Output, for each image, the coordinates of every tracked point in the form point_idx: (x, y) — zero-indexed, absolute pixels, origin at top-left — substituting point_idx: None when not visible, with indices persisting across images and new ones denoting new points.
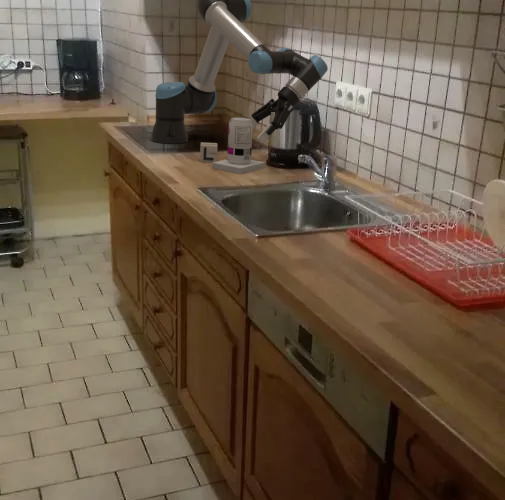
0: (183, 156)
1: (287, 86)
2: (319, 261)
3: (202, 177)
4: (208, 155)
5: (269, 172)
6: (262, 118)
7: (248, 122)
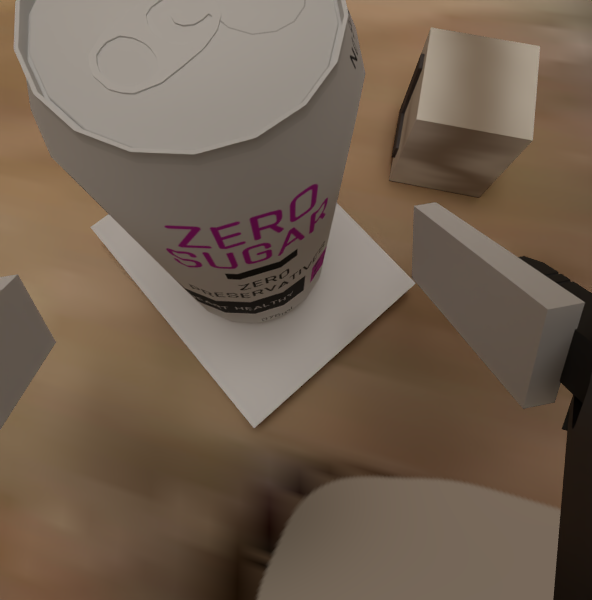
0: None
1: None
2: None
3: None
4: (406, 116)
5: (132, 419)
6: (566, 495)
7: (35, 103)
